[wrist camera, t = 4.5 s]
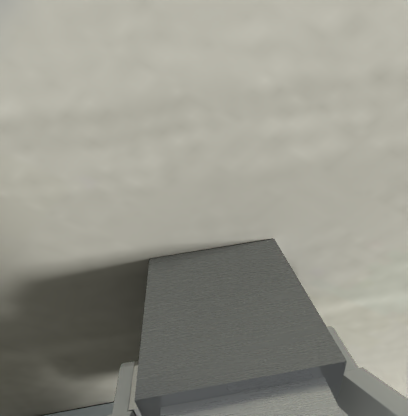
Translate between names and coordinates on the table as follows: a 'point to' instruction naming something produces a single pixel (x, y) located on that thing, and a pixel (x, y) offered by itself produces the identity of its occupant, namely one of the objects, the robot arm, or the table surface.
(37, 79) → the table surface
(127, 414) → the robot arm
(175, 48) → the table surface
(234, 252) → the grey rectangular block
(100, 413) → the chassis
